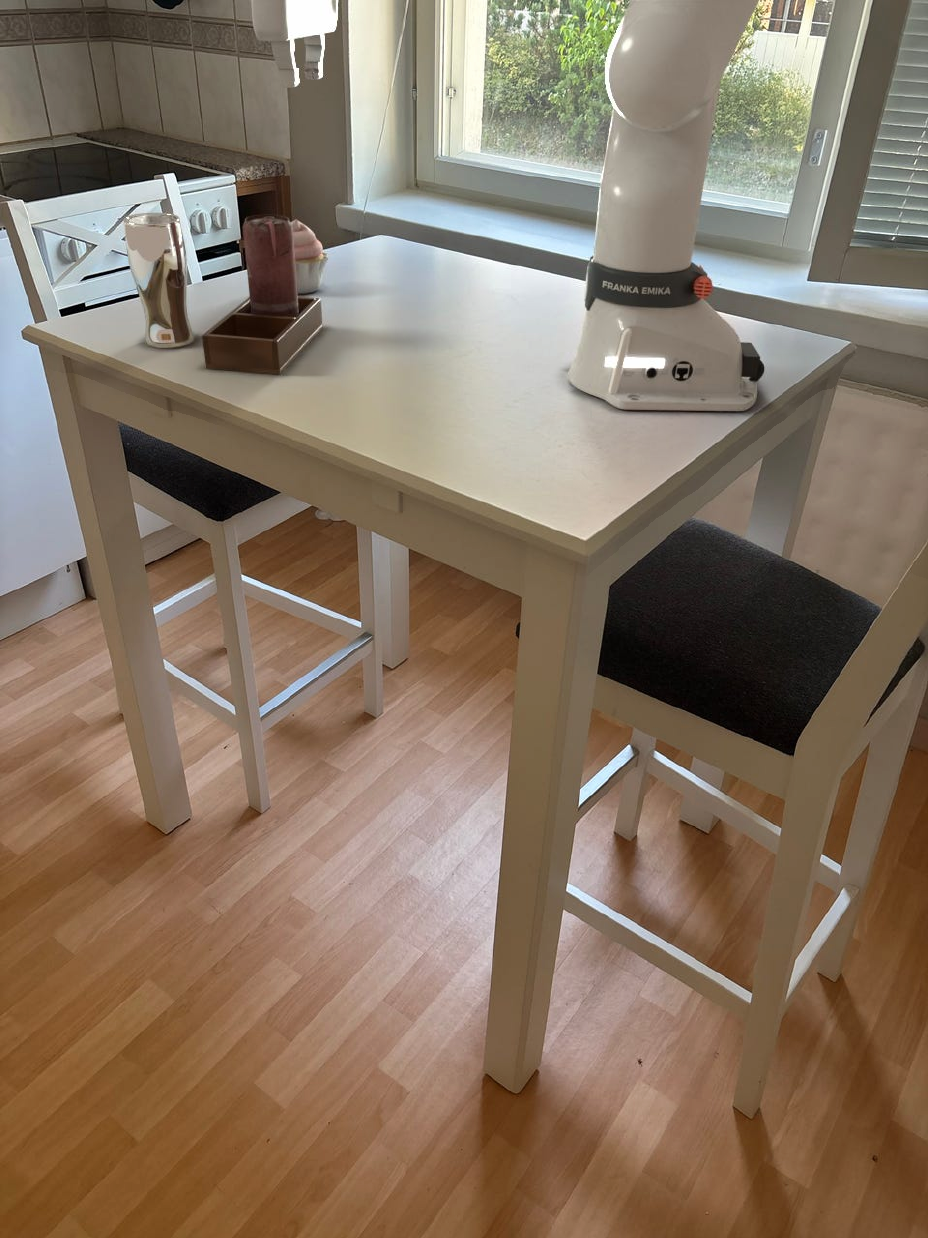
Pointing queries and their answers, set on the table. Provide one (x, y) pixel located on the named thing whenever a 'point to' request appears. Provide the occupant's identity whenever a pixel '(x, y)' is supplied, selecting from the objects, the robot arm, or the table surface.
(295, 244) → the cupcake
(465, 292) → the table surface
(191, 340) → the beer glass
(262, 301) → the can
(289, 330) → the tray
